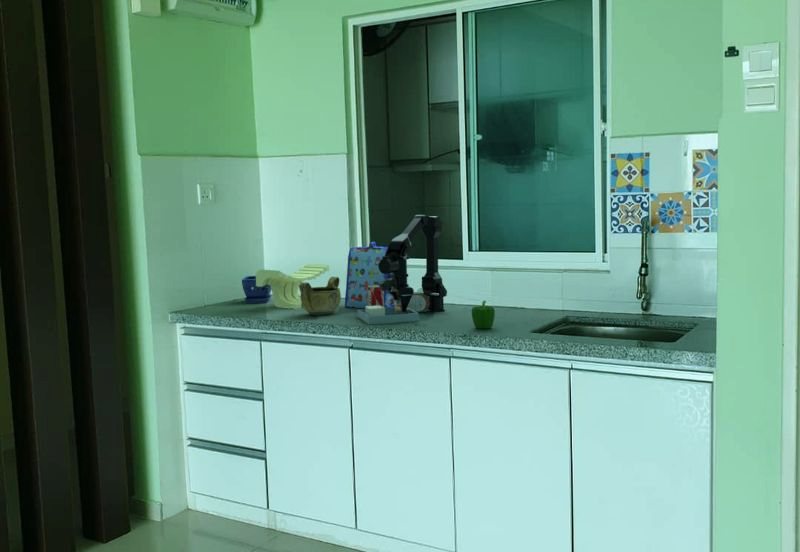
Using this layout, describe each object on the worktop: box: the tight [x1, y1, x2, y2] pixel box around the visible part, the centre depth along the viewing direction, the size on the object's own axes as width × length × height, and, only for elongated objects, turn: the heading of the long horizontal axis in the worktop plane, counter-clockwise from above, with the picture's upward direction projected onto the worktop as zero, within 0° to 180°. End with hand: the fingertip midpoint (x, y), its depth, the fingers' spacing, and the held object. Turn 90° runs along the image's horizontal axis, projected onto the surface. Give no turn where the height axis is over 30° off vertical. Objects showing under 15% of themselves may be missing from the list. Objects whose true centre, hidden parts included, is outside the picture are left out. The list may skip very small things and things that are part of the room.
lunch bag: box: [344, 241, 394, 309], centre depth 364 cm, size 22×14×29 cm, turn 58°
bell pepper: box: [471, 300, 496, 330], centre depth 302 cm, size 8×8×10 cm
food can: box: [394, 300, 408, 315], centre depth 328 cm, size 5×5×7 cm
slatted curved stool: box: [255, 263, 330, 310], centre depth 375 cm, size 30×16×18 cm, turn 139°
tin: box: [407, 291, 430, 313], centre depth 347 cm, size 15×3×8 cm, turn 69°
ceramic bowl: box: [298, 276, 342, 317], centre depth 346 cm, size 22×17×15 cm
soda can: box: [367, 285, 384, 307], centre depth 342 cm, size 7×7×12 cm
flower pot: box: [241, 275, 272, 304], centre depth 393 cm, size 13×13×12 cm
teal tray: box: [356, 307, 420, 325], centre depth 327 cm, size 20×20×4 cm
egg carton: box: [364, 305, 385, 316], centre depth 326 cm, size 6×8×5 cm
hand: (400, 310), depth 328 cm, fingers open, 9 cm apart
